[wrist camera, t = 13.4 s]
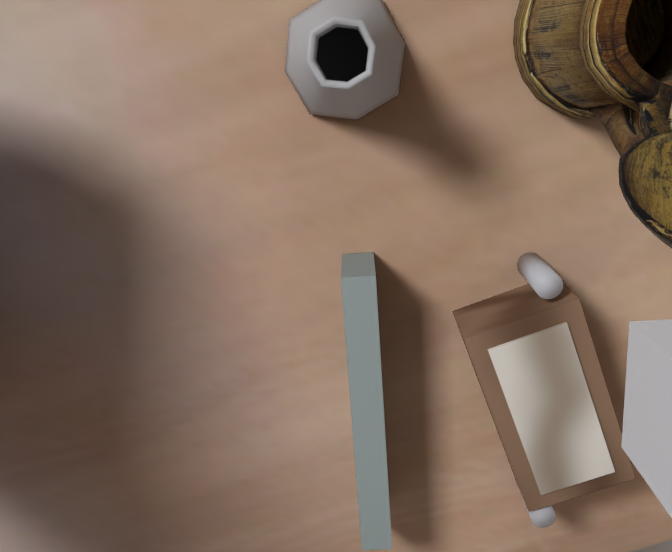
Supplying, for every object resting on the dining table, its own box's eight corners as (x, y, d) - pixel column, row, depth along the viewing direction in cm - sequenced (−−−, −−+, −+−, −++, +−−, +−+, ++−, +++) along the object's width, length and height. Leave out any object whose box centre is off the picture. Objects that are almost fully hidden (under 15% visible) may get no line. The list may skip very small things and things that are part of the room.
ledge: (361, 502, 47) (361, 550, 43) (342, 254, 42) (340, 277, 37) (537, 494, 47) (557, 542, 42) (542, 241, 41) (567, 263, 36)
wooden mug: (494, 185, 40) (598, 270, 23) (523, -56, 36) (674, -171, 19) (638, 191, 40) (850, 282, 23) (683, -50, 36) (983, -159, 19)
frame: (510, 466, 46) (529, 513, 42) (451, 309, 43) (464, 341, 38) (606, 436, 46) (636, 480, 41) (553, 272, 42) (580, 299, 37)
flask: (393, -22, 37) (407, -54, 27) (415, 106, 39) (435, 118, 29) (270, 7, 37) (242, -15, 28) (299, 132, 40) (281, 151, 30)
